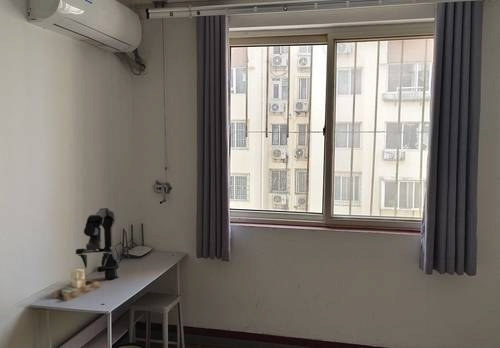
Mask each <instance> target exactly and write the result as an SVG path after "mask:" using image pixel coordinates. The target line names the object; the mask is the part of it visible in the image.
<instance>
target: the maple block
mask: <svg viewBox="0 0 500 348" xmlns="http://www.w3.org/2000/svg"><path fill="white" fill-rule="evenodd" d="M70 279H71V285H72V287H74V288H80V287H82V286H85V279H86V277H85V269H83V268H76V269H72V270H71V271H70Z"/></svg>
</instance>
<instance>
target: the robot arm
mask: <svg viewBox="0 0 500 348" xmlns="http://www.w3.org/2000/svg"><path fill="white" fill-rule="evenodd" d="M115 221H116V215H115V213H114V211H111V210H110V209H109V208H108V207H106V208H105V207H103V208H102V207H101V208H99V210H98V211H97V212H96V213H94V214H90V215H89V216H88V217H87V219H86V223H85V227H84V228H83V229H84V230H83V233H84V235H85V236H87V237H89V239H88V243H86V245H85V248H76V250H75V255H77V256H79V257H80V258H81V260H82V262H83V265H84V269H86V268H87V267H88V254H91V253H103V256H102V257H101V259H102V260H101V268H102V271H104V278H103V280H106V281H113V280H116V279H119V278H120V276H118V273H117V272H118V271H117V269H119V268H120V265H119V261H118V260H117V257H116V254H115V253H114V252H115V248H114V247H113V246H114V245H113V227H114V225H115V224H116V223H115ZM101 227H102V228H103V232H104V236H103V237H104V247H103V248H102V247H101V246H102V245H101V243H102V236H101V235H102V234H101V233H102V229H101Z"/></svg>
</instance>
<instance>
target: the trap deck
mask: <svg viewBox="0 0 500 348" xmlns="http://www.w3.org/2000/svg"><path fill="white" fill-rule="evenodd" d="M100 288H101V283H100V281H97V280H91V279H86V278H85V286H82V287H80V288H74V287H72V284H70V285H67V286H65V287H62V288H59V289H57V290H54V291H52V292H51V295H52V298H53V299H57V300H61V301H65V302H68V301H71V300H73V299H75V298H77V297H80V296H83V295H84V294H88V293H89V292H90V293H91V291H94V290H97V289H100Z"/></svg>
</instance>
